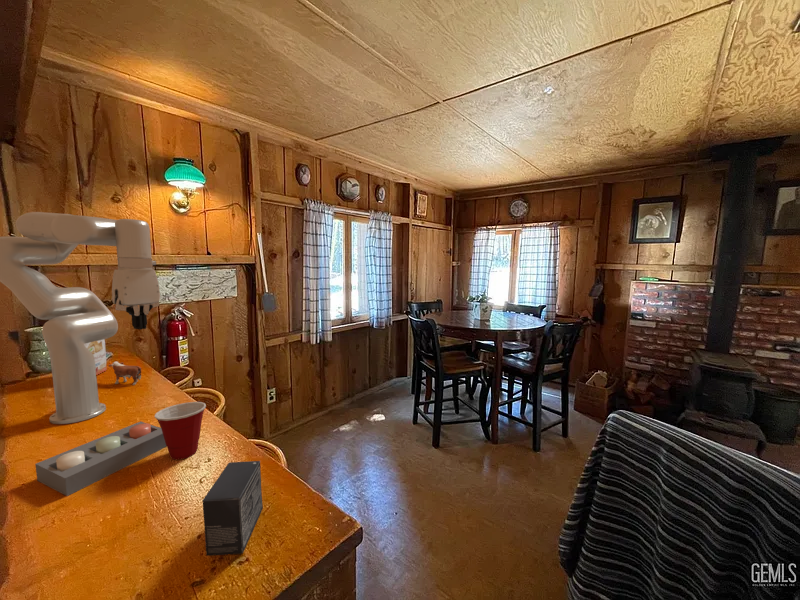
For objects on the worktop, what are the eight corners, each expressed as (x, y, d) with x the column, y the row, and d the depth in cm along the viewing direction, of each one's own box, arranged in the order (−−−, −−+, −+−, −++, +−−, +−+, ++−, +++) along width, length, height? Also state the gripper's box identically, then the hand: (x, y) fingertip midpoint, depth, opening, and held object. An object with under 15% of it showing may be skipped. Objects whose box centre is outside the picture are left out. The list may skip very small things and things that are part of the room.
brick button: (126, 447, 85) (125, 429, 85) (145, 438, 89) (143, 422, 89) (137, 451, 84) (135, 433, 83) (155, 442, 88) (154, 425, 87)
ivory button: (54, 479, 72) (51, 459, 72) (79, 468, 77) (77, 449, 76) (65, 485, 71) (62, 464, 70) (90, 473, 75) (88, 453, 74)
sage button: (93, 462, 79) (91, 443, 78) (114, 452, 83) (113, 434, 82) (104, 466, 77) (102, 447, 77) (125, 456, 81) (124, 438, 81)
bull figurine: (117, 379, 133) (116, 359, 132) (145, 382, 130) (143, 362, 129) (106, 383, 129) (104, 363, 128) (134, 386, 126) (132, 365, 125)
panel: (37, 480, 73) (35, 463, 72) (141, 434, 92) (140, 421, 92) (67, 496, 68) (65, 478, 68) (170, 444, 88) (169, 430, 87)
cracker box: (85, 382, 129) (80, 329, 127) (67, 383, 128) (61, 330, 125) (108, 370, 143) (104, 323, 140) (92, 371, 141) (87, 323, 139)
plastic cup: (202, 436, 92) (199, 395, 90) (213, 453, 84) (211, 408, 83) (154, 452, 84) (150, 407, 83) (162, 472, 77) (158, 423, 75)
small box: (230, 509, 66) (227, 460, 64) (263, 508, 66) (262, 459, 65) (203, 557, 55) (199, 499, 54) (243, 554, 56) (241, 497, 55)
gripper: (155, 264, 101) (159, 323, 103) (94, 264, 87) (100, 332, 89) (171, 264, 98) (175, 325, 100) (111, 265, 84) (117, 335, 86)
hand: (140, 328), depth 95 cm, fingers closed
